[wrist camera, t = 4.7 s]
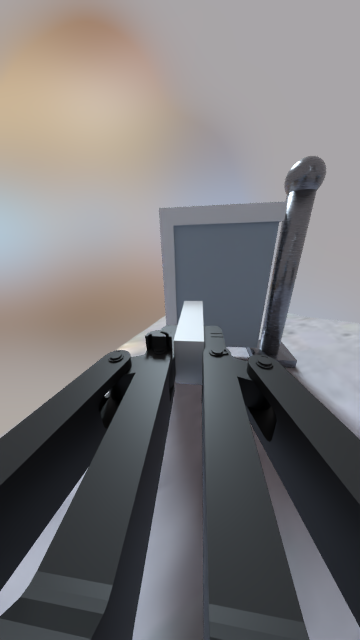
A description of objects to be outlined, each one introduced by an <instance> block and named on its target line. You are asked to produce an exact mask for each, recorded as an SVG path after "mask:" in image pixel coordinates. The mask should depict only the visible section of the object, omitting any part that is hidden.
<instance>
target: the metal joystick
mask: <svg viewBox="0 0 360 640" xmlns="http://www.w3.org/2000/svg"><path fill="white" fill-rule="evenodd" d="M325 175H326V165H325V163H324V161H323V160H322V159H321V158H319V157H316V156H309V157H306V158H303V159H302V160H300V161H298V162H297V163H296V164H295V165H294V166H293V167H292V168H291V169H290V171H289V172H288V174H287V177H286V179H285V192H286V194H287V198H286V202H287V201H288V203H287V208H286V213H285V219H284V221H282V226H281V231H280V236H279V242H278V247H277V253H276V258H275V264H274V269H273V274H272V280H271V285H270V291H269V296H268V302H267V307H266V313H265V318H264V324H263V329H262V335H261V340H258V345H257V348H250V347H246V349H247V351H248V353H249V355H250V357H251V356H253V355H265V356H269V357H271V358H273V359H275V360H276V361H278V362H279V363H280V364H281V365H282V366H283V367H295V366H296V362H297V360H296V359H295V358H294V357H293V355H292V354H291V353H290V352H289V351H288V349H287V348H286V347H285V346H284V344H283V343H282V342H281V338H282V334H283V330H284V326H285V321H286V317H287V313H288V308H289V304H290V300H291V296H292V292H293V288H294V283H295V279H296V275H297V270H298V266H299V262H300V258H301V254H302V250H303V245H304V241H305V236H306V233H307V228H308V224H309V220H310V216H311V211H312V207H313V203H314V199H315V195H316V191H317V189H318V188H319V187H320V186H321V184H322V182H323V180H324V178H325Z"/></svg>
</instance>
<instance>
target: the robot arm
mask: <svg viewBox="0 0 360 640" xmlns="http://www.w3.org/2000/svg"><path fill="white" fill-rule="evenodd" d="M145 338H146V347H147V351H146V353H145V354H144V355H141V356H136V357H131V355H130V353H129V352H128V351H125V350H116V351H113V352H110V353H108V354H107V355H105V356H104V357H103V358H101V359H100V360H99V361H98V362H96V363H95V364H94V365H92V366H91V367H90V368H89V369H88V370H86V371H85V372H84V373H82V374H81V375H80V376H79V377H77V378H76V379H75V380H73V381H72V382H71V383H70V384H68V385H67V386H66V387H65V388H63V389H62V390H61V391H60V392H58V393H57V394H56V395H55V396H53V397H52V398H51V399H49V400H48V401H47V402H46V403H44V404H43V405H42V406H41V407H39V408H38V409H37V410H36V411H34V412H33V413H32V414H31V415H29V416H28V417H27V418H25V419H24V420H23V421H22V422H20V423H19V424H18V425H17V426H15V427H14V428H13V429H12V430H10V431H9V432H8V433H6V434H5V435H4V436H3V437H1V438H0V591H1V589H2V588H3V587H4V585H5V584H6V582H7V581H8V580H9V578H10V577H11V575H12V574H13V572H14V571H15V570H16V568H17V567H18V565H19V564H20V563H21V561H22V560H23V558H24V557H25V556H26V554H27V553H28V551H29V550H30V549H31V547H32V546H33V544H34V543H35V542H36V540H37V539H38V537H39V536H40V534H41V533H42V532H43V530H44V529H45V527H46V526H47V525H48V523H49V522H50V520H51V519H52V518H53V516H54V515H55V513H56V512H57V511H58V509H59V508H60V506H61V505H62V504H63V502H64V501H65V499H66V498H67V497H68V495H69V494H70V492H71V491H72V489H73V488H74V487H75V485H76V484H77V482H78V481H79V480H80V478H81V477H82V475H83V474H84V473H85V471H86V470H87V468H88V467H89V468H88V470H87V472H86V474H85V476H84V478H83V480H82V482H81V484H80V486H79V488H78V490H77V492H76V494H75V496H74V498H73V500H72V502H71V504H70V506H69V508H68V510H67V512H66V514H65V516H64V518H63V520H62V522H61V524H60V526H59V528H58V530H57V532H56V534H55V536H54V538H53V540H52V542H51V544H50V546H49V548H48V550H47V552H46V554H45V556H44V558H43V560H42V562H41V564H40V566H39V568H38V570H37V572H36V574H35V576H34V577H33V579H32V581H31V583H30V585H29V586H28V587H27V589H26V590H25V592H24V593H23V594H22V596H21V597H20V598H19V599H18V600H17V601H16V602H15V603H14V604H13V605H12V606H11V607H10V608H8V609H7V610H6V611H5V612H4V613H3V614H2V615H1V616H0V640H132V636H133V630H134V623H135V617H136V612H137V606H138V600H139V594H140V588H141V583H142V577H143V571H144V565H145V559H146V553H147V548H148V542H149V536H150V530H151V524H152V519H153V513H154V507H155V501H156V495H157V490H158V484H159V478H160V472H161V466H162V461H163V455H164V449H165V443H166V437H167V432H168V426H169V420H170V414H171V408H172V403H173V397H174V391H175V390H174V382H175V383H181V384H198V385H202V461H203V599H204V640H309V637H308V634H307V630H306V627H305V624H304V620H303V617H302V613H301V609H300V606H299V602H298V598H297V595H296V591H295V587H294V584H293V580H292V576H291V573H290V569H289V565H288V561H287V558H286V554H285V550H284V547H283V543H282V539H281V536H280V532H279V528H278V525H277V521H276V517H275V514H274V510H273V506H272V503H271V499H270V495H269V492H268V488H267V484H266V481H265V477H264V473H263V470H262V466H261V462H260V459H259V455H258V451H257V448H256V444H255V440H254V437H253V433H252V429H251V426H250V423H251V425H252V427H253V429H254V431H255V432H256V434H257V436H258V438H259V440H260V442H261V444H262V445H263V447H264V449H265V451H266V453H267V455H268V457H269V459H270V460H271V462H272V464H273V466H274V468H275V470H276V472H277V474H278V475H279V477H280V479H281V481H282V483H283V485H284V487H285V488H286V490H287V492H288V494H289V496H290V498H291V500H292V502H293V503H294V505H295V507H296V509H297V511H298V513H299V515H300V516H301V518H302V520H303V522H304V524H305V526H306V528H307V530H308V531H309V533H310V535H311V537H312V539H313V541H314V543H315V545H316V546H317V548H318V550H319V552H320V554H321V556H322V558H323V559H324V561H325V563H326V565H327V567H328V569H329V571H330V573H331V574H332V576H333V578H334V580H335V582H336V584H337V586H338V588H339V589H340V591H341V593H342V595H343V597H344V599H345V601H346V602H347V604H348V606H349V608H350V610H351V612H352V614H353V616H354V617H355V619H356V621H357V623H358V625H359V627H360V439H359V438H357V437H356V436H355V435H354V434H353V433H352V432H351V431H350V430H349V429H348V428H347V427H346V426H345V425H344V424H343V423H342V422H341V421H340V420H339V419H338V418H336V417H335V416H334V415H333V414H332V413H331V412H330V411H329V410H328V409H327V408H326V407H325V406H324V405H323V404H322V403H321V402H320V401H319V400H318V399H317V398H315V397H314V396H313V395H312V394H311V393H310V392H309V391H308V390H307V389H306V388H305V387H304V386H303V385H302V384H301V383H300V382H299V381H298V380H297V379H295V378H294V377H293V376H292V375H291V374H290V373H289V372H288V371H287V370H286V369H285V368H284V367H283V366H282V365H281V364H280V363H279V362H278V361H276V360H275V359H273V358H271V357H269V356H265V355H253V356H251V357H249V359H248V361H245V360H240V359H237V358H235V357H233V356H231V353H230V351H229V350H228V349H226V345H225V341H224V338H223V333H222V329H221V328H220V327H218V326H203V301H184V305H183V308H182V312H181V315H180V319H179V323H178V326H176V325H166V326H165V327H163V328H162V330H156V331H152V332H150V333H148V334H147V335H146V336H145ZM108 391H109V393H108V394H107V395H106V396H104V395H105V394H106V393H107V392H108ZM249 421H250V422H249Z"/></svg>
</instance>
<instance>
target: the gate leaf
mask: <svg viewBox="0 0 360 640" xmlns="http://www.w3.org/2000/svg"><path fill="white" fill-rule="evenodd" d="M287 203H288V201H287V202H270V203H250V204H231V205H212V206H193V207H175V208H159V217H160V232H161V248H162V263H163V280H164V295H165V310H166V325H176V326H178V323H179V319H180V315H181V312H182V308H183V305H184V301H203V326H218V327H220V328H221V329H222V333H223V338H224V341H225V345H226V347H250V348H257V345H258V339H259V333H260V328H261V322H262V316H263V311H264V305H265V299H266V294H267V288H268V282H269V276H270V270H271V265H272V259H273V254H274V248H275V243H276V237H277V231H278V226H279V222H281V221H284V219H285V213H286V208H287Z"/></svg>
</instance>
